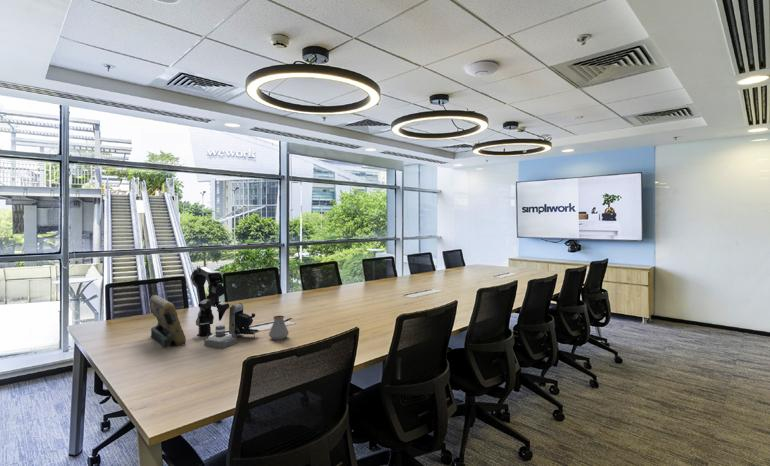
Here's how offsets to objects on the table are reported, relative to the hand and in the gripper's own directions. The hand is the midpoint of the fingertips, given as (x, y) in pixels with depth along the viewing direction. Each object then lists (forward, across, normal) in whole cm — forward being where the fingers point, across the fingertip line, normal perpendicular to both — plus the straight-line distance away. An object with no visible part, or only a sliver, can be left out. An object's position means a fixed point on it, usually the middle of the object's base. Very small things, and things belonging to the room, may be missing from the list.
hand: (213, 319), depth 231 cm
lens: (+9, +9, -4) cm, 13 cm away
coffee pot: (+12, +36, +17) cm, 42 cm away
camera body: (+12, +9, -4) cm, 16 cm away
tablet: (+12, -25, -11) cm, 30 cm away
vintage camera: (+12, +12, +12) cm, 21 cm away
